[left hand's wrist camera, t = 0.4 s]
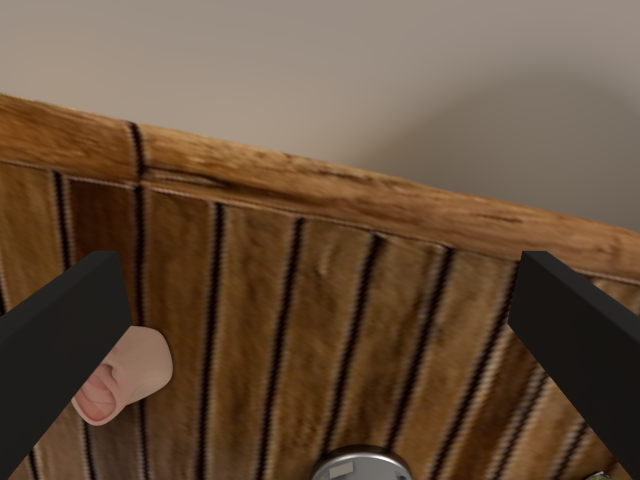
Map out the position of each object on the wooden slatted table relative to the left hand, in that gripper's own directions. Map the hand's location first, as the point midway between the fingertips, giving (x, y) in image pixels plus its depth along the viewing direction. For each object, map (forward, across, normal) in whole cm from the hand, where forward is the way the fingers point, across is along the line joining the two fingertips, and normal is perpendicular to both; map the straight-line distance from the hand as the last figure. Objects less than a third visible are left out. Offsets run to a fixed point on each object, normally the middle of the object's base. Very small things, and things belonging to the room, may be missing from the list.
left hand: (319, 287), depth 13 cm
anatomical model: (+28, +25, +26) cm, 46 cm away
